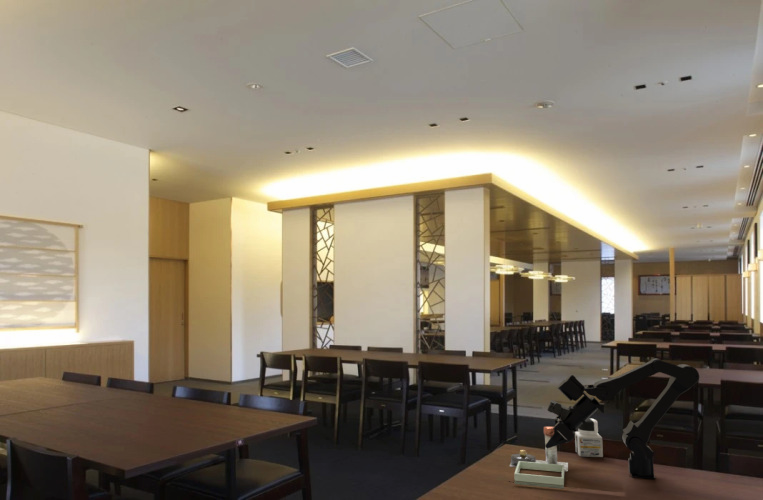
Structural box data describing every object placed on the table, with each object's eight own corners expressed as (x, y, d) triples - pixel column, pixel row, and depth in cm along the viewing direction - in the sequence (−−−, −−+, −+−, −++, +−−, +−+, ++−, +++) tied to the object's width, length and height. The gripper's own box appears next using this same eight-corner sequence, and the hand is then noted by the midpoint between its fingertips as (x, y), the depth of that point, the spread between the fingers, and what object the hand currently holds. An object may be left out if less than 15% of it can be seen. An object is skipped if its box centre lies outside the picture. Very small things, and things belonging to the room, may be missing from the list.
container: (579, 459, 187) (578, 420, 188) (575, 453, 194) (574, 416, 196) (603, 460, 186) (601, 421, 187) (598, 454, 193) (596, 416, 195)
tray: (564, 474, 170) (564, 464, 170) (563, 488, 156) (563, 478, 157) (518, 470, 174) (518, 461, 175) (514, 484, 161) (514, 473, 161)
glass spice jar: (558, 464, 177) (557, 426, 179) (558, 467, 174) (556, 429, 175) (545, 463, 179) (543, 426, 180) (544, 466, 175) (543, 428, 176)
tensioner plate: (568, 465, 179) (567, 450, 180) (567, 474, 170) (567, 458, 170) (512, 461, 185) (512, 446, 186) (509, 469, 176) (509, 453, 176)
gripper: (562, 388, 186) (530, 419, 189) (561, 397, 169) (526, 430, 171) (587, 413, 183) (554, 444, 185) (589, 424, 165) (553, 458, 168)
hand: (546, 443), depth 177 cm, fingers open, 9 cm apart
